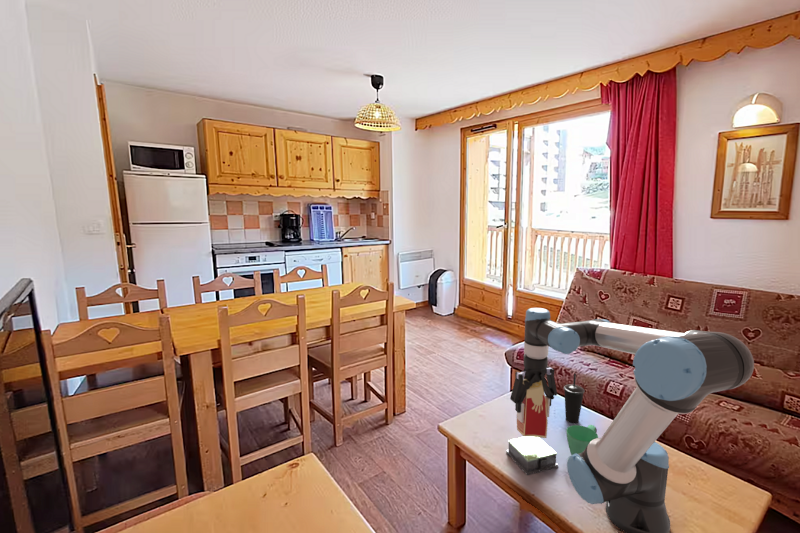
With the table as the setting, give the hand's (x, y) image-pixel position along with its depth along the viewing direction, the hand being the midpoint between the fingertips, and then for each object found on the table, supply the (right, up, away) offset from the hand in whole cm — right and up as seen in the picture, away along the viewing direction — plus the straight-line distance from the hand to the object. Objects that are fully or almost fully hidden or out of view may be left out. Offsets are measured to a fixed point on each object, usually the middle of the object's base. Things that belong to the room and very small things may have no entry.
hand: (532, 417), depth 129 cm
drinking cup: (+25, -12, +26) cm, 38 cm away
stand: (0, -15, +2) cm, 16 cm away
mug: (+19, -15, +3) cm, 24 cm away
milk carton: (-1, -5, +1) cm, 5 cm away
